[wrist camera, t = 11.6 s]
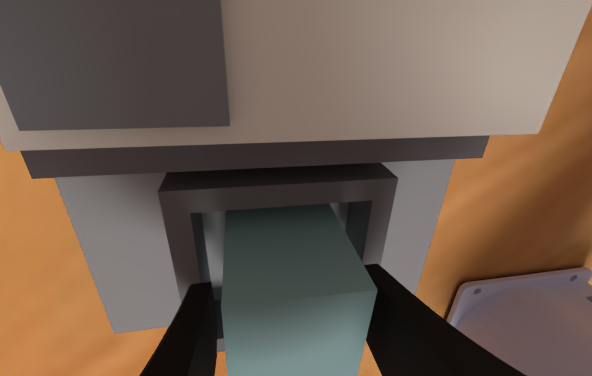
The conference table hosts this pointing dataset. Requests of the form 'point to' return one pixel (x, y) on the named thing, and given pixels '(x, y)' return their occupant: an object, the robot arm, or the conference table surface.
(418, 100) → the beige rectangular block
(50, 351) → the conference table surface
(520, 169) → the conference table surface
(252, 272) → the teal block
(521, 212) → the conference table surface
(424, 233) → the jig
